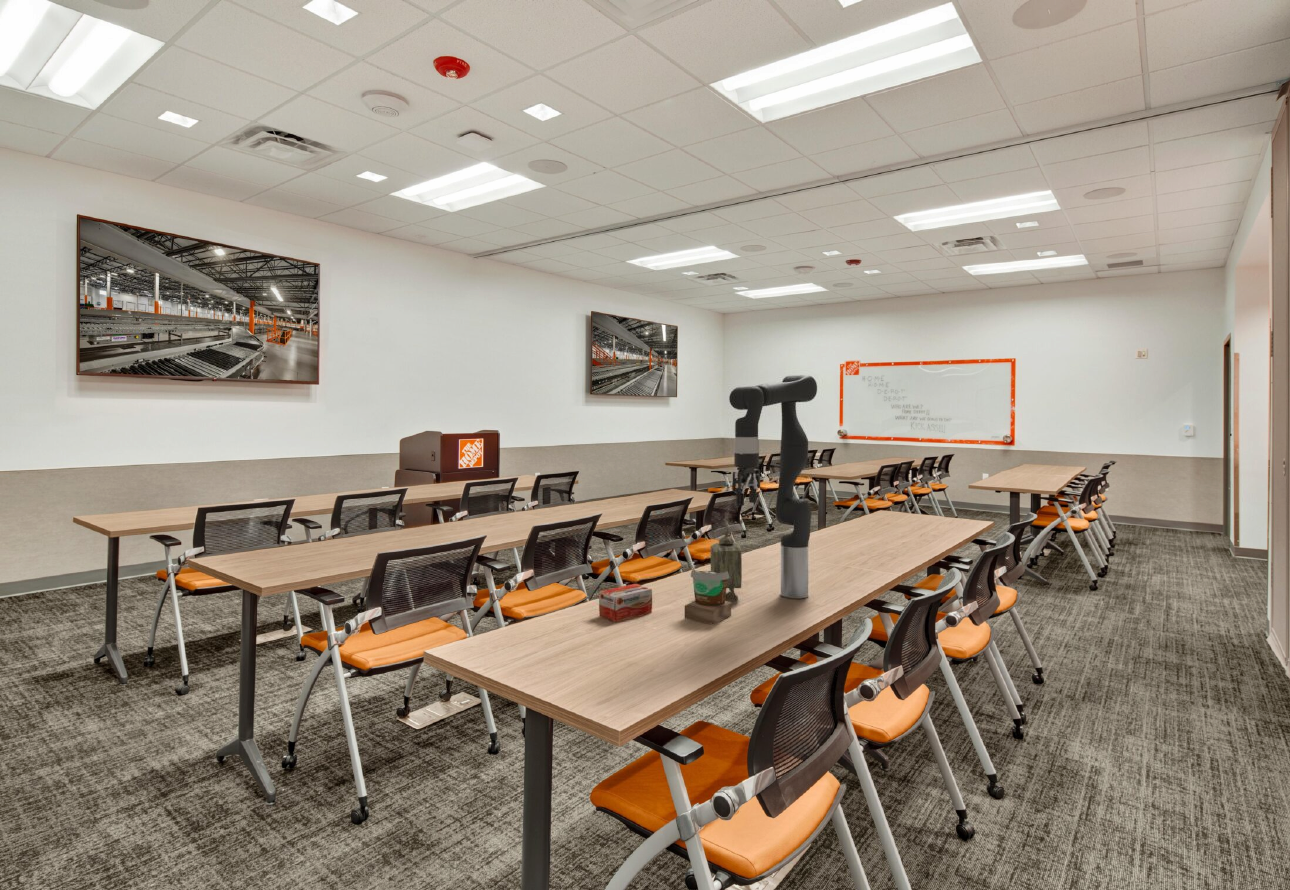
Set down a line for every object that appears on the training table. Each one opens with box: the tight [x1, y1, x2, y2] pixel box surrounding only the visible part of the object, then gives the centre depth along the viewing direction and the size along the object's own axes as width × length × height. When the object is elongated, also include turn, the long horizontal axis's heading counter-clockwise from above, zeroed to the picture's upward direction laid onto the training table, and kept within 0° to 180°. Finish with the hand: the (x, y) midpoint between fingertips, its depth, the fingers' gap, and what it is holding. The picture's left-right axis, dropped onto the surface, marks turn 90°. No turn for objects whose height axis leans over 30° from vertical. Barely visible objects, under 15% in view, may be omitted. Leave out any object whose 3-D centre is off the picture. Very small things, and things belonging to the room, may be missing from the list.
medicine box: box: [598, 583, 653, 623], centre depth 202 cm, size 15×8×8 cm, turn 131°
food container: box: [690, 567, 729, 606], centre depth 197 cm, size 12×6×10 cm, turn 61°
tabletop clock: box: [710, 522, 743, 601], centre depth 222 cm, size 14×9×25 cm, turn 179°
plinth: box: [684, 600, 732, 625], centre depth 199 cm, size 11×10×4 cm
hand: (746, 504), depth 201 cm, fingers open, 8 cm apart
